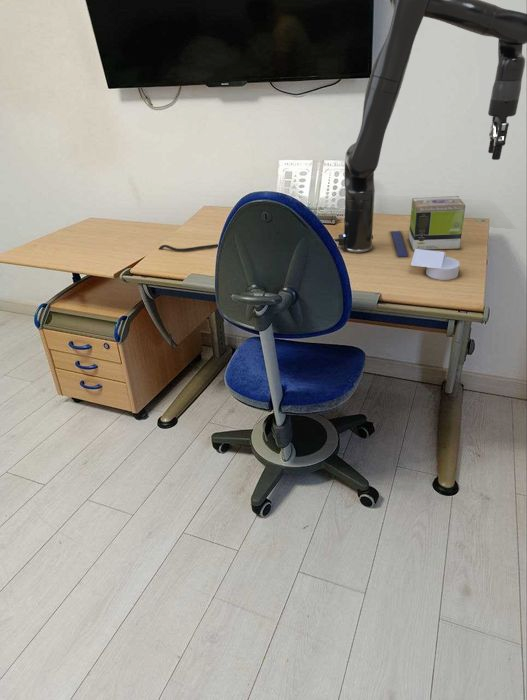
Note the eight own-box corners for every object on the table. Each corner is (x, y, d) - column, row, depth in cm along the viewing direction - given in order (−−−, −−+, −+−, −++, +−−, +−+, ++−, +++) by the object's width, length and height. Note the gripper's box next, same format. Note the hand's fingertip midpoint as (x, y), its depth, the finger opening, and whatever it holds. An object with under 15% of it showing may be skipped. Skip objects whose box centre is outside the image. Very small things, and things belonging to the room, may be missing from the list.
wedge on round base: (409, 275, 150) (455, 281, 145) (412, 254, 146) (459, 259, 141) (415, 263, 156) (459, 269, 151) (418, 243, 153) (463, 247, 148)
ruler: (398, 256, 162) (398, 255, 161) (391, 232, 180) (391, 231, 180) (407, 256, 161) (407, 255, 161) (399, 232, 179) (399, 231, 179)
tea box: (453, 238, 172) (459, 195, 163) (459, 249, 163) (466, 204, 155) (407, 239, 173) (412, 196, 165) (412, 250, 165) (416, 206, 157)
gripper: (487, 94, 152) (478, 150, 160) (494, 101, 140) (483, 161, 149) (514, 93, 150) (503, 151, 159) (523, 100, 138) (510, 161, 147)
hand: (493, 156), depth 154 cm, fingers open, 8 cm apart
